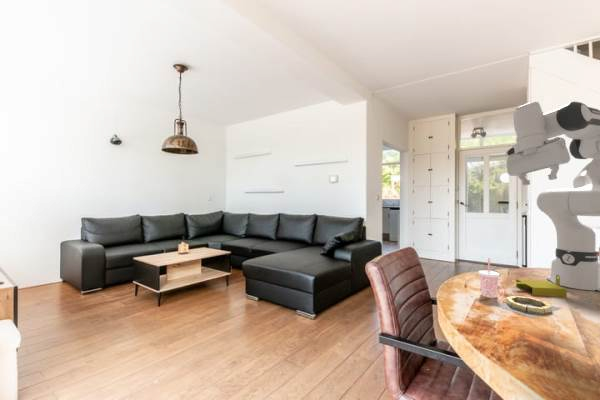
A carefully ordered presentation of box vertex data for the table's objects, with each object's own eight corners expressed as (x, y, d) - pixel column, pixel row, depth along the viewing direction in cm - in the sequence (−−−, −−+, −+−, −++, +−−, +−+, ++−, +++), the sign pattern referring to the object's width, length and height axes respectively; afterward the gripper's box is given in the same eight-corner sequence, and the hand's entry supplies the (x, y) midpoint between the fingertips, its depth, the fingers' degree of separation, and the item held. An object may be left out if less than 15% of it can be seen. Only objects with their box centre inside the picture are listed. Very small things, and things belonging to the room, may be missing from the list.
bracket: (501, 267, 114) (544, 269, 111) (501, 287, 114) (544, 289, 111) (523, 278, 98) (573, 280, 95) (523, 300, 98) (573, 303, 95)
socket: (519, 299, 96) (519, 294, 96) (557, 310, 86) (557, 304, 86) (500, 304, 91) (500, 299, 91) (538, 316, 82) (538, 310, 82)
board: (524, 300, 97) (524, 297, 97) (561, 311, 88) (561, 308, 88) (495, 308, 90) (495, 305, 90) (532, 321, 81) (532, 317, 81)
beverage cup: (474, 295, 103) (474, 256, 102) (490, 294, 103) (490, 256, 103) (487, 301, 97) (487, 260, 96) (504, 300, 97) (504, 260, 97)
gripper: (571, 135, 95) (579, 175, 93) (514, 154, 115) (520, 187, 113) (556, 134, 94) (563, 175, 92) (501, 154, 113) (506, 187, 111)
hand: (539, 182), depth 102 cm, fingers open, 8 cm apart
